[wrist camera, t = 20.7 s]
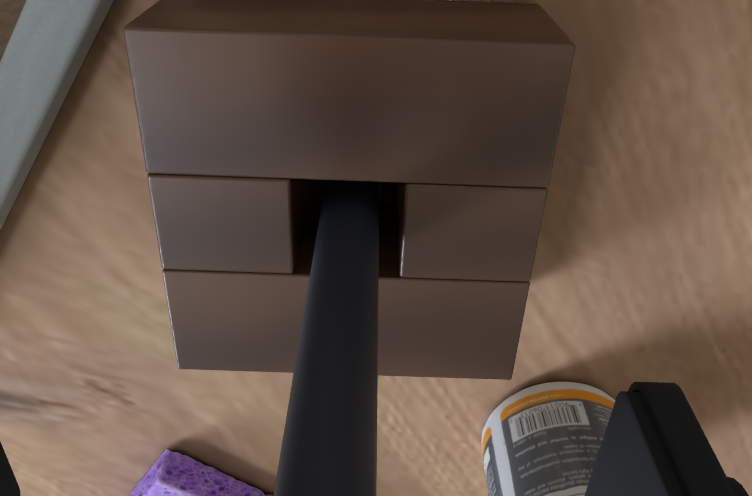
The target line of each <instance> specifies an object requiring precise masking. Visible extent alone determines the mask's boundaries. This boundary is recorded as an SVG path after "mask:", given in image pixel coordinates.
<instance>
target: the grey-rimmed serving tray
mask: <svg viewBox="0 0 752 496" xmlns="http://www.w3.org/2000/svg"><path fill="white" fill-rule="evenodd" d="M113 1H114V0H0V230H1V228H2V226H3V224H4V222H5V220H6V218H7V216H8V214H9V212H10V210H11V208H12V206H13V204H14V202H15V200H16V198H17V196H18V194H19V192H20V190H21V188H22V186H23V184H24V182H25V180H26V178H27V175H28V173H29V171H30V169H31V167H32V165H33V163H34V161H35V159H36V157H37V155H38V153H39V151H40V149H41V147H42V145H43V143H44V141H45V139H46V137H47V135H48V133H49V131H50V129H51V127H52V125H53V123H54V121H55V119H56V117H57V114H58V112H59V110H60V108H61V106H62V104H63V102H64V100H65V98H66V96H67V94H68V92H69V90H70V88H71V86H72V84H73V82H74V80H75V78H76V76H77V74H78V72H79V70H80V68H81V66H82V64H83V62H84V60H85V58H86V56H87V53H88V51H89V49H90V47H91V45H92V43H93V41H94V39H95V37H96V35H97V33H98V31H99V29H100V27H101V25H102V23H103V21H104V19H105V17H106V15H107V13H108V11H109V9H110V7H111V5H112V3H113Z"/></svg>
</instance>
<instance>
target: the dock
mask: <svg viewBox="0 0 752 496" xmlns="http://www.w3.org/2000/svg"><path fill="white" fill-rule="evenodd" d="M124 36H125V42H126V48H127V54H128V60H129V66H130V72H131V79H132V85H133V91H134V97H135V103H136V109H137V116H138V122H139V128H140V134H141V140H142V146H143V153H144V159H145V165H146V171H147V173H149V174H148V176H147V177H148V183H149V189H150V195H151V201H152V207H153V214H154V220H155V226H156V232H157V238H158V244H159V251H160V257H161V263H162V267H163V277H164V283H165V289H166V296H167V302H168V308H169V314H170V320H171V326H172V332H173V339H174V345H175V351H176V357H177V363H178V368H179V369H200V370H231V371H261V372H292V373H294V369H295V363H296V357H297V351H298V345H299V339H300V333H301V326H302V320H303V314H304V308H305V302H306V296H307V290H308V284H309V278H310V272H311V266H312V260H313V254H314V248H315V242H316V236H317V230H318V223H319V217H320V211H321V205H307V204H308V184H307V179H320V180H347V181H375V182H398V196H397V208H390V207H379V279H378V375H383V376H414V377H444V378H475V379H505V380H510V379H511V378H512V373H513V368H514V363H515V358H516V353H517V347H518V342H519V337H520V332H521V327H522V322H523V316H524V311H525V306H526V301H527V296H528V290H529V285H530V283H529V281H530V278H531V274H532V268H533V263H534V258H535V253H536V248H537V242H538V237H539V232H540V227H541V222H542V216H543V211H544V206H545V201H546V196H547V188H546V187H548V185H549V181H550V175H551V170H552V165H553V160H554V155H555V149H556V144H557V139H558V134H559V129H560V123H561V118H562V113H563V108H564V103H565V98H566V92H567V87H568V82H569V77H570V72H571V66H572V61H573V56H574V51H575V44H574V43H573V42H572V41H571V40H570V39H569V38H568V36H567V35H566V34H565V33H564V32H563V31H562V30H561V29H560V28H559V27H558V25H557V24H556V23H555V22H554V21H553V20H552V19H551V18H550V17H549V15H548V14H547V13H546V12H545V11H544V10H543V9H542V8H541V7H540V5H538V4H516V3H490V2H464V1H439V0H160V1H158V2H157V3H156V4H154V5H153V6H152V7H150V8H149V9H148V10H146V11H145V12H144V13H142V14H141V15H140V16H138V17H137V18H136V19H134V20H133V21H132V22H130V23H129V24H128V25H126V26H125V27H124Z"/></svg>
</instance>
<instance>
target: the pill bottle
mask: <svg viewBox="0 0 752 496" xmlns="http://www.w3.org/2000/svg"><path fill="white" fill-rule="evenodd" d="M615 401H616V400H614V399H613V398H612V397H610V396H609V395H608V394H606V393H605V392H603V391H602V390H600V389H597V388H595V387H593V386H590V385H586V384H581V383H574V382H549V383H543V384H539V385H534V386H531V387H528V388H526V389H523V390H521V391H519V392H517V393H515V394H514V395H512V396H510V397H508V398H507V399H506V400H505V401H503V402H502V403H501V404H500V405H499V406H498V407H497V408H495V410H494V411H493V412H492V413H491V415H490V416H489V418H488V420H487V422H486V424H485V427H484V429H483V433H482V455H483V462H484V470H485V475H486V481H487V487H488V494H489V496H584V495H585V492H586V489H587V486H588V483H589V480H590V477H591V474H592V471H593V468H594V465H595V462H596V459H597V456H598V452H599V449H600V446H601V443H602V440H603V437H604V434H605V431H606V428H607V425H608V422H609V419H610V416H611V413H612V410H613V407H614V404H615Z"/></svg>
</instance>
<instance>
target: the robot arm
mask: <svg viewBox="0 0 752 496" xmlns="http://www.w3.org/2000/svg"><path fill="white" fill-rule="evenodd" d="M0 496H20V489H19V486H18V483H17V481H16V479H15V476H14V474H13V471H12V469H11V466H10V464H9V462H8V459H7V457H6V454H5V452H4V449H3V447H2V445H1V442H0ZM584 496H749V495H748V494H747V492H746V491H745V489H744V488H743V486H742V485H741V484H740V483H739V482H737V481H736V480H735V479H734V478H730V477H726V475H725V473H724V471H723V469H722V467H721V465H720V463H719V461H718V459H717V457H716V455H715V453H714V452H713V450H712V448H711V446H710V444H709V442H708V440H707V438H706V436H705V434H704V432H703V430H702V428H701V426H700V424H699V422H698V420H697V419H696V417H695V415H694V413H693V411H692V409H691V407H690V405H689V403H688V401H687V399H686V397H685V395H684V393H683V391H682V390H681V388H680V387H679V386H678V385H677V384H675V383H658V382H634V383H633V384H631V386H630V388H629V390H628V392H622V391H621V392H620V393H618V395H617V398H616V401H615V404H614V407H613V410H612V413H611V416H610V419H609V422H608V425H607V428H606V431H605V434H604V437H603V440H602V443H601V446H600V449H599V452H598V456H597V459H596V462H595V465H594V468H593V471H592V474H591V477H590V480H589V483H588V486H587V489H586V492H585V495H584Z"/></svg>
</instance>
